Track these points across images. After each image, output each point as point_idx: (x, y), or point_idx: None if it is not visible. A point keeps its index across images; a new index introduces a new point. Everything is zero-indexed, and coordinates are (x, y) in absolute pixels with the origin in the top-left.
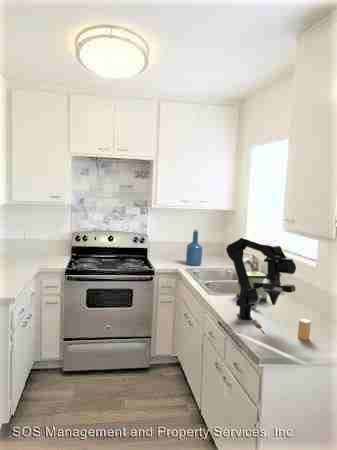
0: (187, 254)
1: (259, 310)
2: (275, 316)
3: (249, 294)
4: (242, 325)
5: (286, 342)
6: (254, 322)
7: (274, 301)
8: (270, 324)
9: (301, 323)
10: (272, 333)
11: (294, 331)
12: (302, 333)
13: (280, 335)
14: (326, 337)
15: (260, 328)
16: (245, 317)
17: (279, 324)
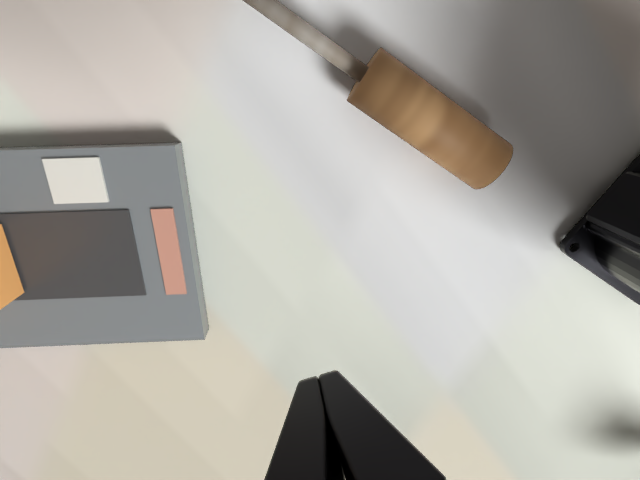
0: None
1: (619, 458)
2: (466, 464)
3: None
4: (549, 15)
5: (6, 69)
6: (468, 118)
7: (285, 446)
8: (389, 303)
9: None
10: (236, 138)
11: (184, 354)
12: None
13: None
14: (6, 456)
15: (330, 48)
16: (624, 183)
17: (346, 367)
